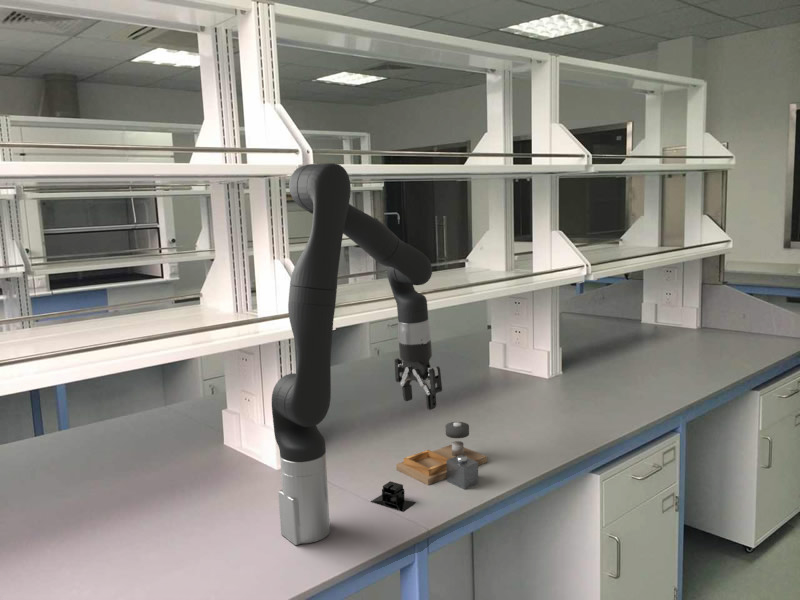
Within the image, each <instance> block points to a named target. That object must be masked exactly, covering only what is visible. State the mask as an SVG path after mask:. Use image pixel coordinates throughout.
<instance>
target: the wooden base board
mask: <svg viewBox="0 0 800 600" xmlns="http://www.w3.org/2000/svg"><path fill="white" fill-rule="evenodd" d="M459 455H465V456H467V458H469V459H472V460H474V461H476V462H478V466H480V465H483V464H485V463H487V462H488V456H487V455H484V454H482V453H479V452H477V451H474V450H472V449H469V448H466V447H465V445H464V442H463V441H459V440H456V441H452V442H451V444H449V445H446V446H444V447H441V448H438V449H436V450H431V449H427V450H424V451H423V450H422V451H420V452H417V453H415V454H412V455H409V456H406V457H404V458H403V461H401V462H399V463H396V471H398V472H400V473H402V474H404V475H406V476H408V477H410V478H413V479H414V480H416V481H419V482H421V483H423V484H424V485H426V486H429V485H432V484H434V483H437V482H440V481H442V480H444V479H447V464H446V460H448V459H451V458H453V457H456V456H459Z"/></svg>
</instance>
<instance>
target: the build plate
mask: <svg viewBox="0 0 800 600" xmlns="http://www.w3.org/2000/svg"><path fill="white" fill-rule="evenodd" d="M370 503H372V504H376V505H380V506H382V507H386V508H389V509H392V510H395V511H399V512H402V513H405V512H406V511H407V510H409V509H410V508H411V507H413V506H414V505H415V504H417V503H418V502H417V501H414V500H411V499H408V498H405V489H404V484H402V483H398V482H394V481H389V482H386V484H384V485H382V489H381V494H380V495H378V496H377V497H375V498H374V499H372V500H371V501H370Z"/></svg>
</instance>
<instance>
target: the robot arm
mask: <svg viewBox="0 0 800 600" xmlns="http://www.w3.org/2000/svg"><path fill="white" fill-rule="evenodd" d="M288 184H289V185H288V188H289V193H290V196H291V198H292V200H293V201H294V203H295V204H296V205H297V206H299V208H302V209H303V210H305V211H306V212H308V213H310V214H312V223H311V230H310V233H309V238H308V240H307V243H306V244H305V247H304V249H303V250H302V253H301V254H300V256H299V258H298V260H297V262H296V263H295V265H294V268H293V271H292V274H291V276H290V280H289V281H290V282H289V289H288V290H289V293H288V302H287V303H288V305H287V308H288V317H289V318H288V319H289V323H290V327H291V332H292V335H293V338H294V343H295V348H296V367H295V369H296V370H295V373H288V374H285V375H283V376H282V377H280V379H278V380H277V382H276V383H275V385H274V387H273V390H272V394H271V414H272V423H273V424H272V425H273V430H274V431H273V432H274V433H273V434H274V439H275V442H276V444H277V446H278V449H279V459H280V460H279V461H280V475H281V478H280V479H281V489H280V490H278V492H277V495H278V505H279V506H278V508H279V521H280V525H279V526H280V535H282V537H284V538H285V539H286V540H289V542H291V543H292V544H293V545H294V546H299V545H302V544H310V543H316V542H319V541H321V540H323V539H325V538H326V537H327V536H328V535H329V534H330V532H331V525H330V522H331V521H330V520H331V519H330V506H329V505H330V503H329V488H328V470H327V450H326V449H327V448H326V447H327V446H326V440H325V437H324V435H323V434H322V433H321V431H320V429H318V427H317V425H319V424H320V423H322V422H323V420H324V419H325V418H326V416H327V414H328V411H329V409H330V405H331V397H332V395H331V393H332V391H331V390H332V386H331V384H332V381H331V380H332V379H331V378H332V376H331V372H332V371H331V363H332V362H331V357H332V356H331V355H332V343H333V334H334V333H333V332H334V331H333V329H334V318H335V311H336V303H337V301H336V300H337V292H338V291H337V290H338V277H339V275H338V274H339V267H340V260H341V258H340V257H341V250H342V243H343V236H345V237H346V238H348V239H350V240H351V241H352V242H354V243H355V244H356V245H357V246H358V247H360V248H361V249H362V250H363V251H365V253H366V254H368V255H369V256H370V257H371V258H372V259H374V260H375V261H376V262H377V263H378V264H380V265H382V266H384V267H387V268H386V275H387V279H388V283H389V287H390V288H391V292H392V295H393V298H394V300H395V303H396V310H397V325H398V326H397V335H398V348H399V349H398V350H399V357H397V358H395V359H394V372H395V374H394V376H395V382H396V383H399V384H400V387H401V389H402V390H401V391H402V397H403V401H404V402H409V401H411V400H413V389H412V381H415V382H416V383H419V386H420V387H421V388H423V390H424V391H425V393H426V394H425V400H426V403H425V404H426V409H427V410H429V411H432V410H434V409H436V407H437V393H440V392H442V391H443V383H442V374H441V368H440V367H439V366H435V367H433V366H431V363H430V360H431V358H432V356H433V351H432V349H433V348H432V337H431V325H430V323H429V322H430V321H429V309H428V300H427V298H426V295H423V294H422V293H419V292H418V291H417V290H416V289H415V287H414V286H421V285H422V286H423V285H425V284H426V283H428V282H429V281H430V279H431V277H432V275H433V266H432V263H431V261H430V259H429V258H428V257H427V255H425V253H423V252H422V251H420V250H419V249H418V248H415V247H413V246H412V245H411V244H409V243H406V242H405V241H403V240H401V239H400V238H399V237H398V236H397V235H396V234H395V233H394V232H393V231H392V230H391V229H390V228H389V227H388V226H386V225H385V224H384V223H382V221H380V220H378V219H377V218H375V217H373V216H372V215H370V214H368V213H366V212H364V211H362V210H360V209H358V208H357V207H355V206H353V205H352V204H350V200H351V190H352V189H351V186H352V185H351V180H350V176H349V173H348V172H347V170H346V168H345V167H343V166H342V165H341V164H338V163H333V162H331V163H329V162H328V163H327V162H325V163H311V164H306V165H305V164H304V165H301V166H299V167H297V168H296V169H295V170H294V171H293V173H292V174H291V175H290V178H289V183H288ZM400 374H401V375H400ZM427 379H428V380H427Z"/></svg>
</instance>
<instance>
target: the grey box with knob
mask: <svg viewBox="0 0 800 600" xmlns="http://www.w3.org/2000/svg"><path fill="white" fill-rule="evenodd" d="M446 464H447V478H446V482H447V483H449V484H451V485H454V486H456V487H458V488H460V489H462V490H467V489H470V488H472V487H475V486H476V485H478V484H479V465H478V462H476V461H474V460H472V459H469V458H467V456H465V455H459V456H456V457H453V458H451V459H448V460H446Z"/></svg>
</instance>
